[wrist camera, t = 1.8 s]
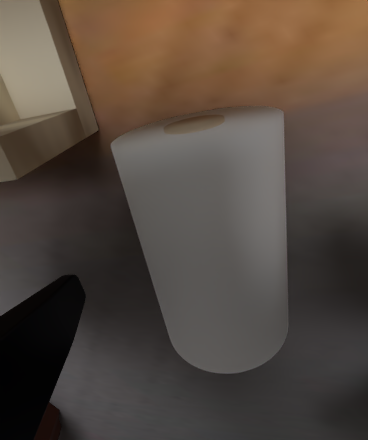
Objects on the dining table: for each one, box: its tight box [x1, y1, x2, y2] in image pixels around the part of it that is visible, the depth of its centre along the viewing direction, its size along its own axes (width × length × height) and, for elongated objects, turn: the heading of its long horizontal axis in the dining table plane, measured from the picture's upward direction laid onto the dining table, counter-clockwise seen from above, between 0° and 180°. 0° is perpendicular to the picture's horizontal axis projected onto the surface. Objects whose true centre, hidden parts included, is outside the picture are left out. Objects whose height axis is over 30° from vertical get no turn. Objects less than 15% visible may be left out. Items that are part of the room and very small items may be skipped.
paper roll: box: [111, 106, 289, 374], centre depth 10 cm, size 8×5×5 cm, turn 11°
